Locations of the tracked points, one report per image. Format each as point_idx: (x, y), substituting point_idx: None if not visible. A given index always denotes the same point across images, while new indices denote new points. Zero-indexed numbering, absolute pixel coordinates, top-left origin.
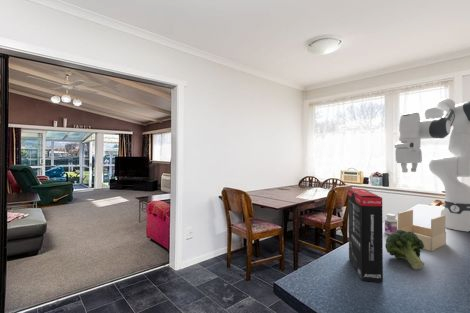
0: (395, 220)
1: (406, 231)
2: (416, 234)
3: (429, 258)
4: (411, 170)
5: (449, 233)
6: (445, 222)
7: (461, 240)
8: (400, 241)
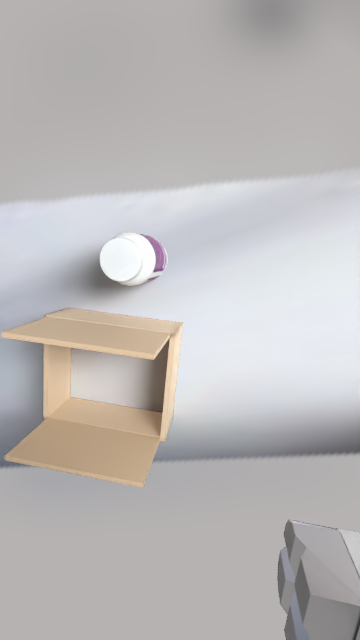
0: (120, 282)
1: (47, 346)
2: (44, 378)
3: (5, 405)
4: (295, 544)
5: (339, 411)
6: (150, 465)
7: (262, 448)
8: None
